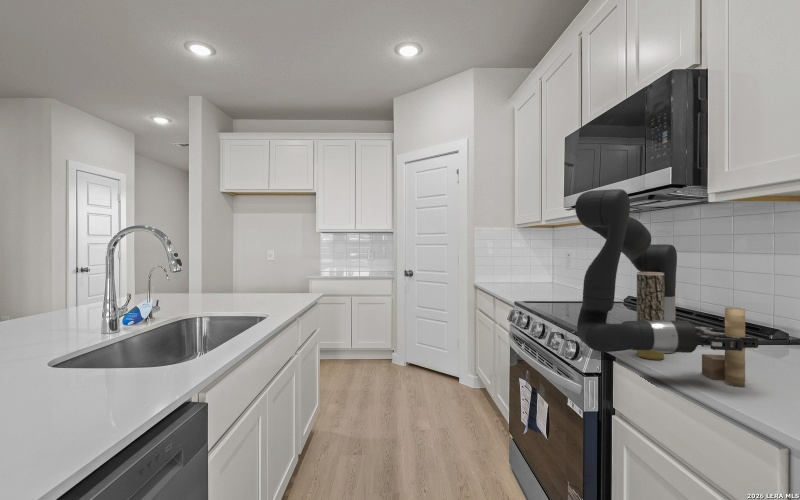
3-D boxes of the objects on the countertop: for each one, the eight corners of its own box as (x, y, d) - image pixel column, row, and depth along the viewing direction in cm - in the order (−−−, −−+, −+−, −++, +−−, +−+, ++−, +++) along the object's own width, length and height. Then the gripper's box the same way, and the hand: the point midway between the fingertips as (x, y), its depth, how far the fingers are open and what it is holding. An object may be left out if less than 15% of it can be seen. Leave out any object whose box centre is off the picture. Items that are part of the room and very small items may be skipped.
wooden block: (712, 379, 94) (712, 359, 94) (701, 373, 98) (701, 354, 98) (745, 380, 93) (745, 360, 93) (732, 374, 97) (732, 355, 97)
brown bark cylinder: (668, 361, 109) (668, 273, 108) (642, 359, 110) (642, 273, 110) (657, 354, 115) (657, 271, 115) (633, 353, 117) (633, 271, 116)
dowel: (721, 381, 93) (721, 307, 92) (737, 381, 92) (738, 307, 92) (731, 386, 89) (731, 309, 89) (748, 387, 88) (749, 310, 88)
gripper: (684, 326, 86) (767, 328, 83) (653, 315, 100) (723, 316, 97) (684, 360, 86) (767, 363, 83) (653, 344, 100) (723, 346, 97)
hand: (743, 338), depth 90 cm, fingers open, 8 cm apart
